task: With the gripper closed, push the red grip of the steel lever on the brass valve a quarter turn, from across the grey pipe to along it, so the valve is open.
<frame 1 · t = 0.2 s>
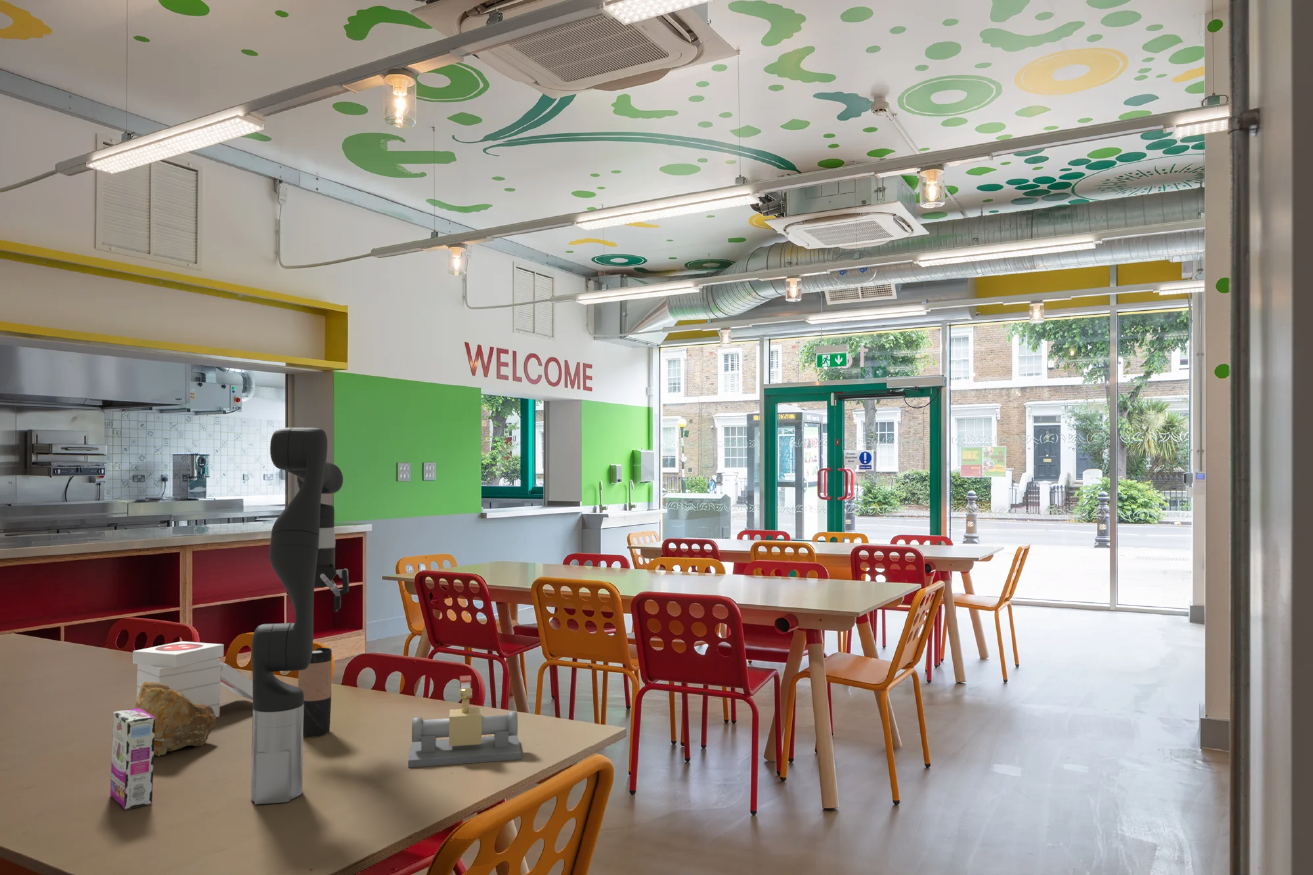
hand: (317, 611, 216), 29 cm above the table, tool pointing down, fingers open, 8 cm apart
valve stand: (465, 753, 197), on the table
rough brown rock: (174, 747, 204), on the table
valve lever: (465, 687, 204), point 13 cm above the table, hinge at 0.0°
travel mug: (314, 733, 214), on the table
candy bar box: (131, 801, 169), on the table
pizza boxes: (199, 713, 233), on the table
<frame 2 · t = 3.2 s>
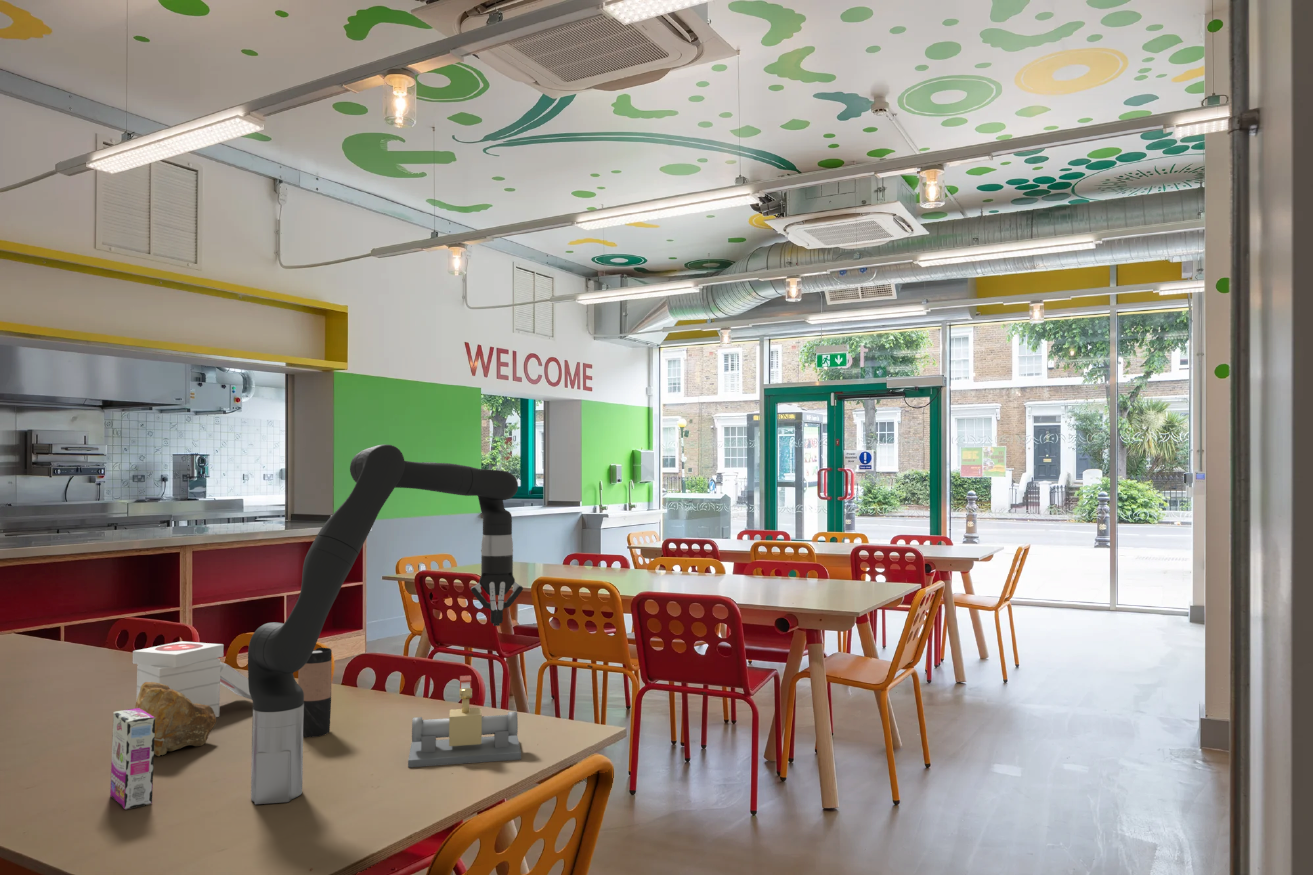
hand: (496, 625, 212), 26 cm above the table, tool pointing down, fingers closed
nothing on the table moved.
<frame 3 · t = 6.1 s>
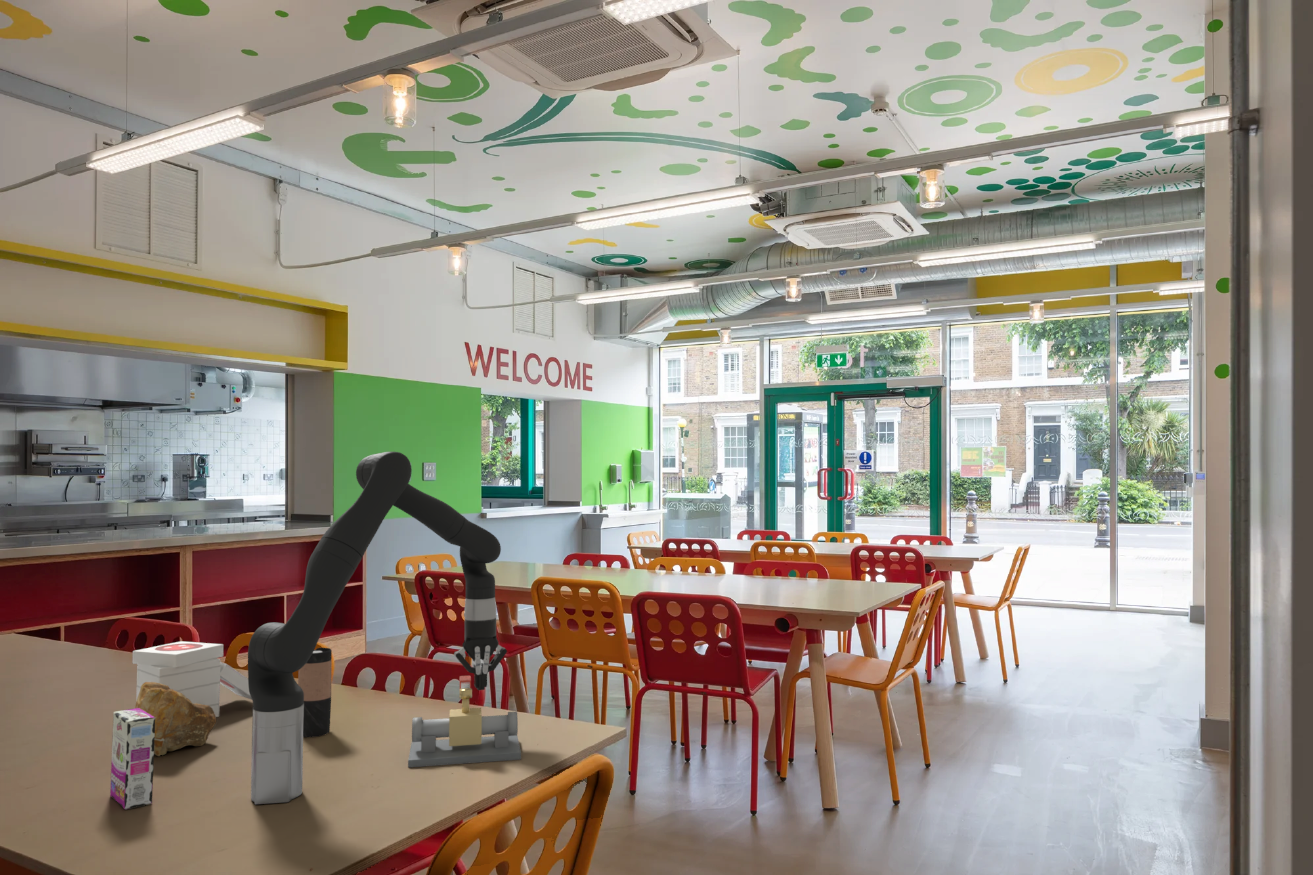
hand: (480, 689, 210), 11 cm above the table, tool pointing down, fingers closed
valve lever: (465, 687, 204), point 13 cm above the table, hinge at 0.4°, touching gripper
everything else where it was.
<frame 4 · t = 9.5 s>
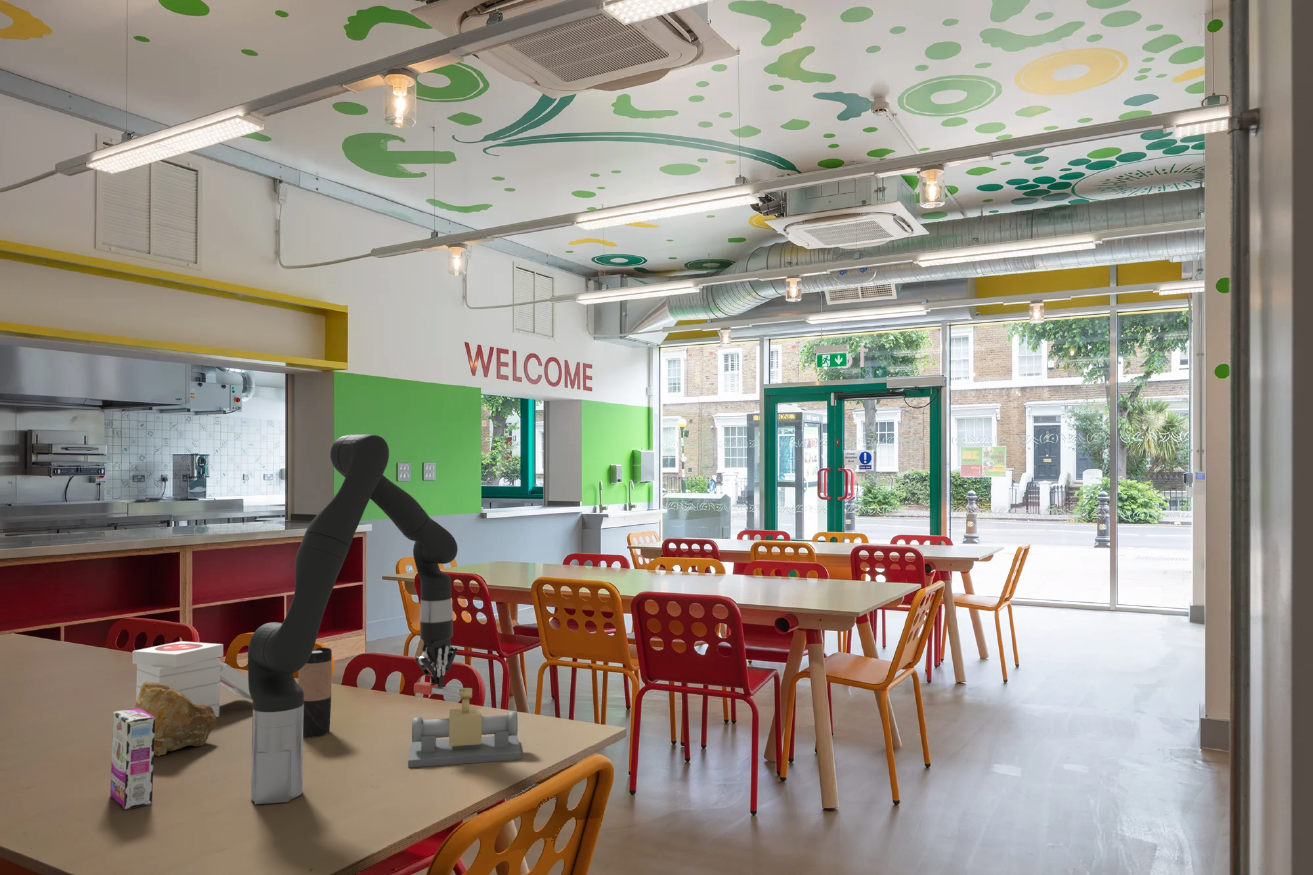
hand: (437, 691, 207), 12 cm above the table, tool pointing down, fingers closed
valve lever: (443, 690, 201), point 13 cm above the table, hinge at 48.7°, touching gripper
everything else where it was.
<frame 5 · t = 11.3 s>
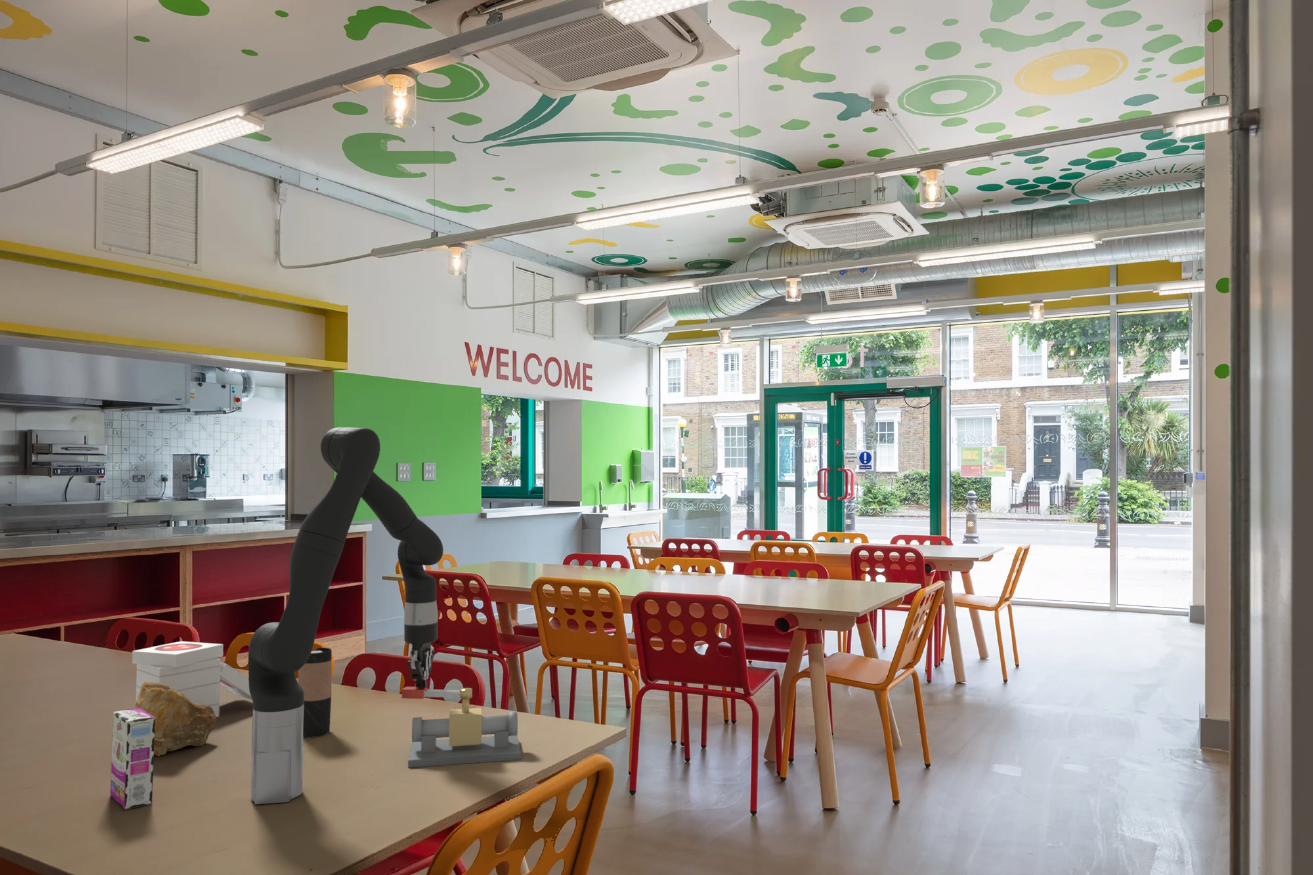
hand: (421, 695, 203), 12 cm above the table, tool pointing down, fingers closed
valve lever: (437, 693, 199), point 13 cm above the table, hinge at 70.8°, touching gripper
everything else where it was.
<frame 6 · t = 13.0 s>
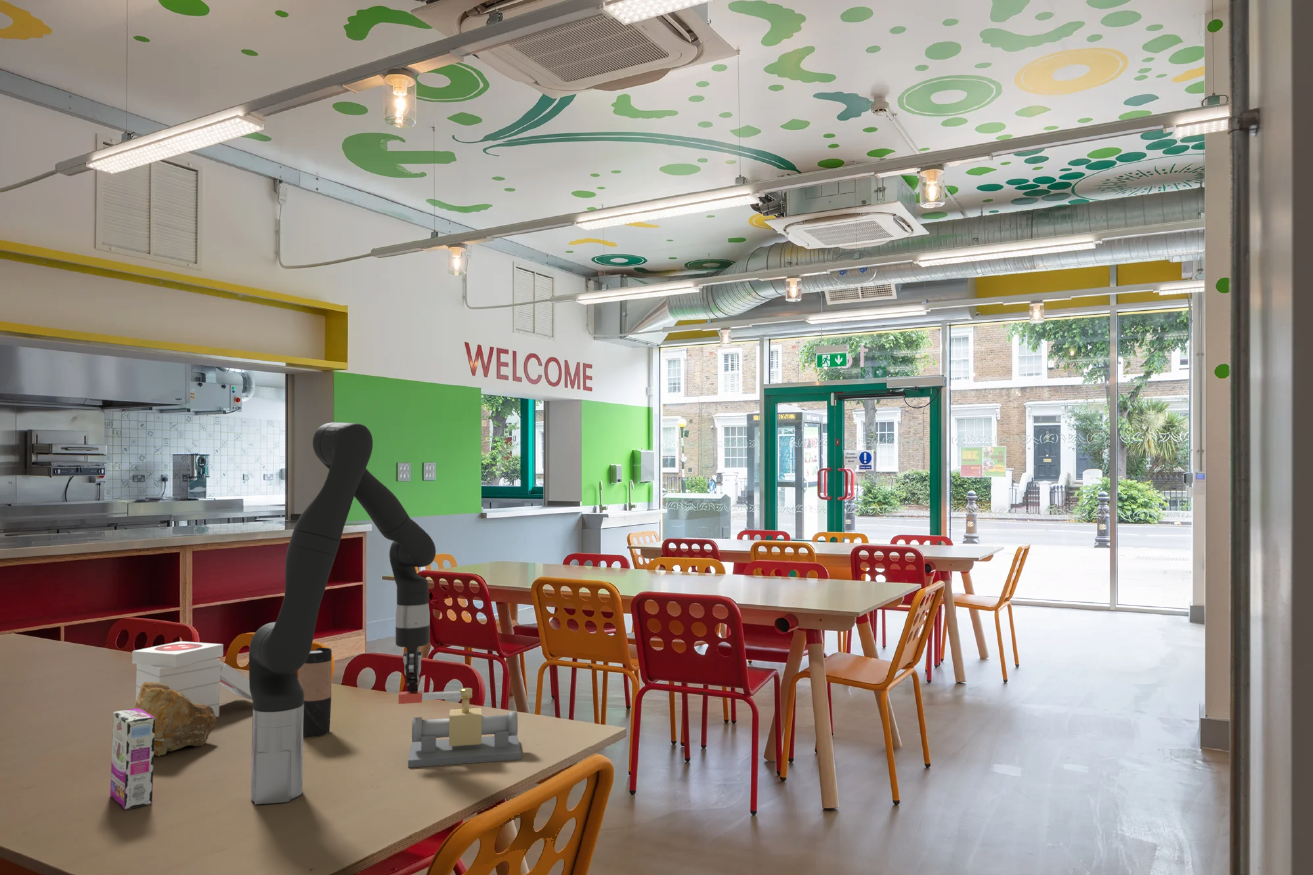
hand: (412, 700, 199), 12 cm above the table, tool pointing down, fingers closed
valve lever: (435, 695, 197), point 13 cm above the table, hinge at 91.1°, touching gripper
everything else where it was.
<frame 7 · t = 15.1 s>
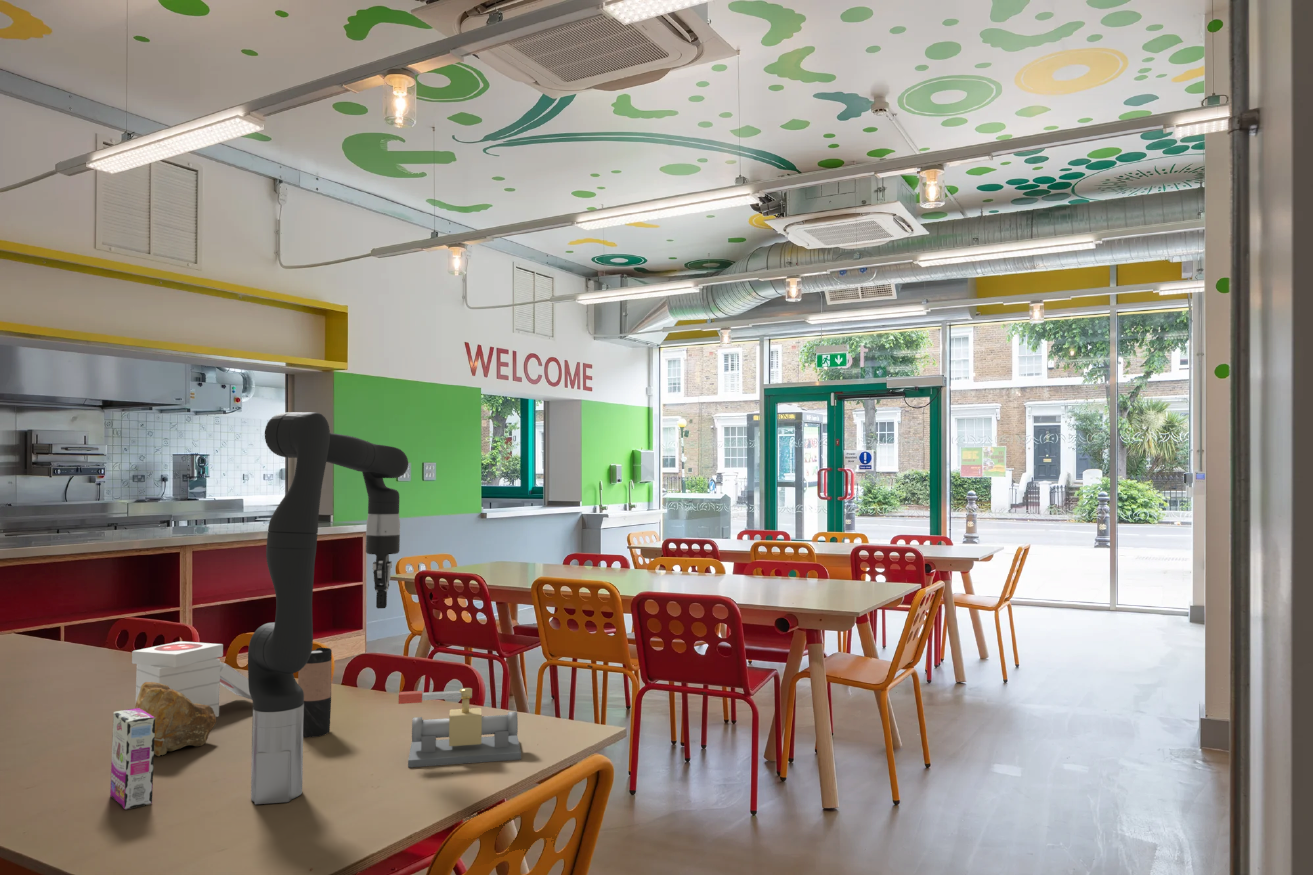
hand: (381, 607, 204), 32 cm above the table, tool pointing down, fingers closed
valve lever: (435, 695, 197), point 13 cm above the table, hinge at 91.1°
everything else where it was.
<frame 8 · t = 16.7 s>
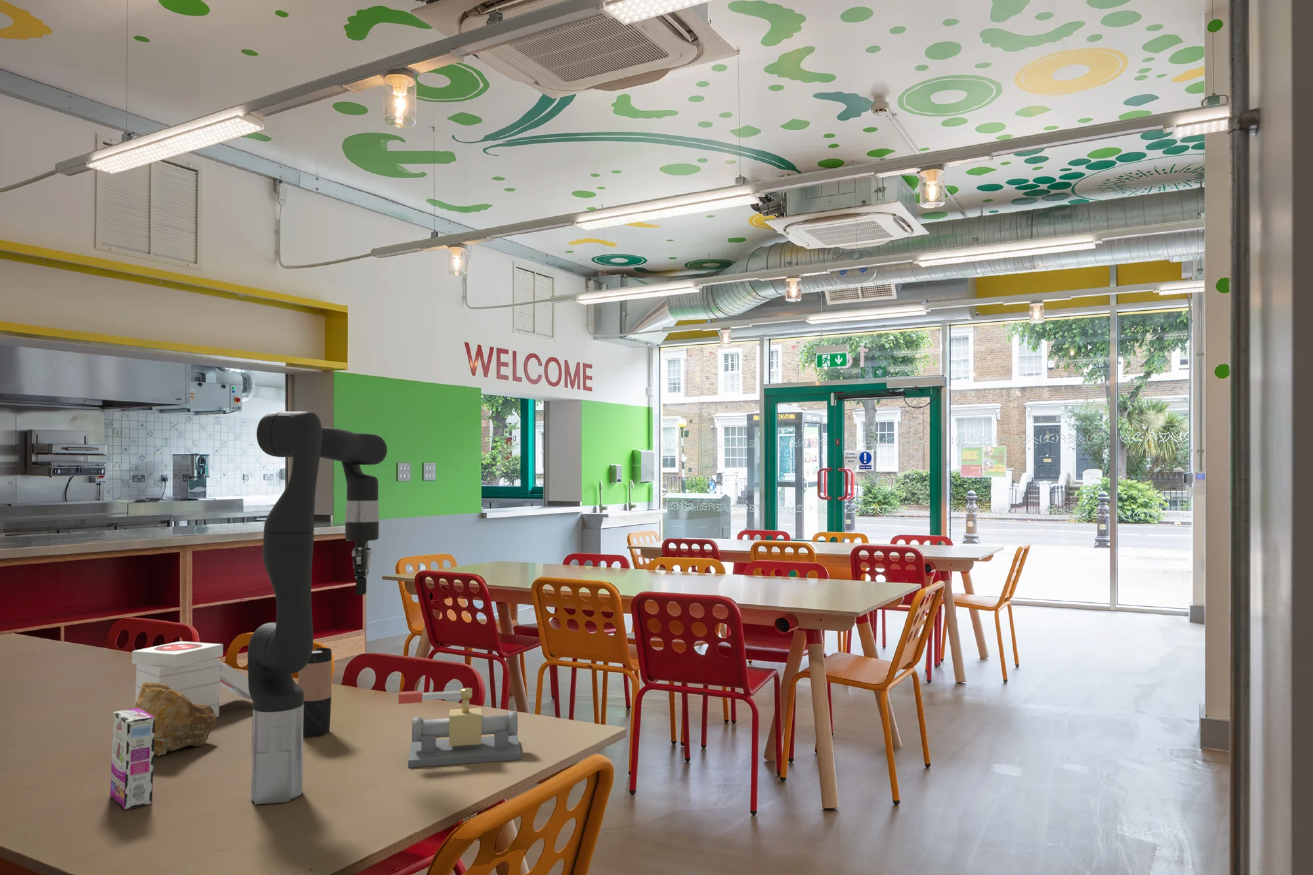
hand: (361, 594, 205), 35 cm above the table, tool pointing down, fingers closed
nothing on the table moved.
at the end: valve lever at +91° (first picture: +0°); rough brown rock moved 0.3 cm from its start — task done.
